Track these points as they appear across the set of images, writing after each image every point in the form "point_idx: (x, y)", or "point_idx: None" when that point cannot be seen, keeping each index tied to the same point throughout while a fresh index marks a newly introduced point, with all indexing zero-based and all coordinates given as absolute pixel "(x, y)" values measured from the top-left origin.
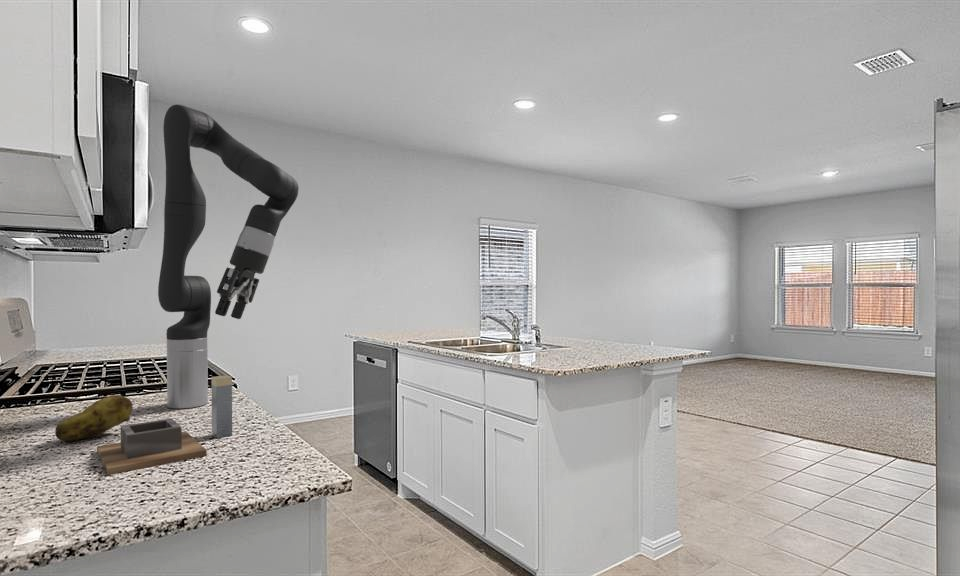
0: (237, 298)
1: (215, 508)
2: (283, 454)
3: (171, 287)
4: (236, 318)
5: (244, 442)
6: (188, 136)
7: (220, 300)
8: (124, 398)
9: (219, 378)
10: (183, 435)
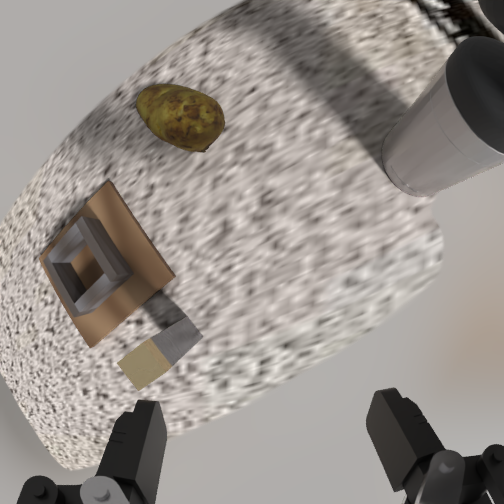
0: (423, 480)
1: (9, 386)
2: (108, 431)
3: None
4: (369, 412)
5: None
6: None
7: (102, 465)
8: (185, 132)
9: (124, 367)
10: (150, 283)
